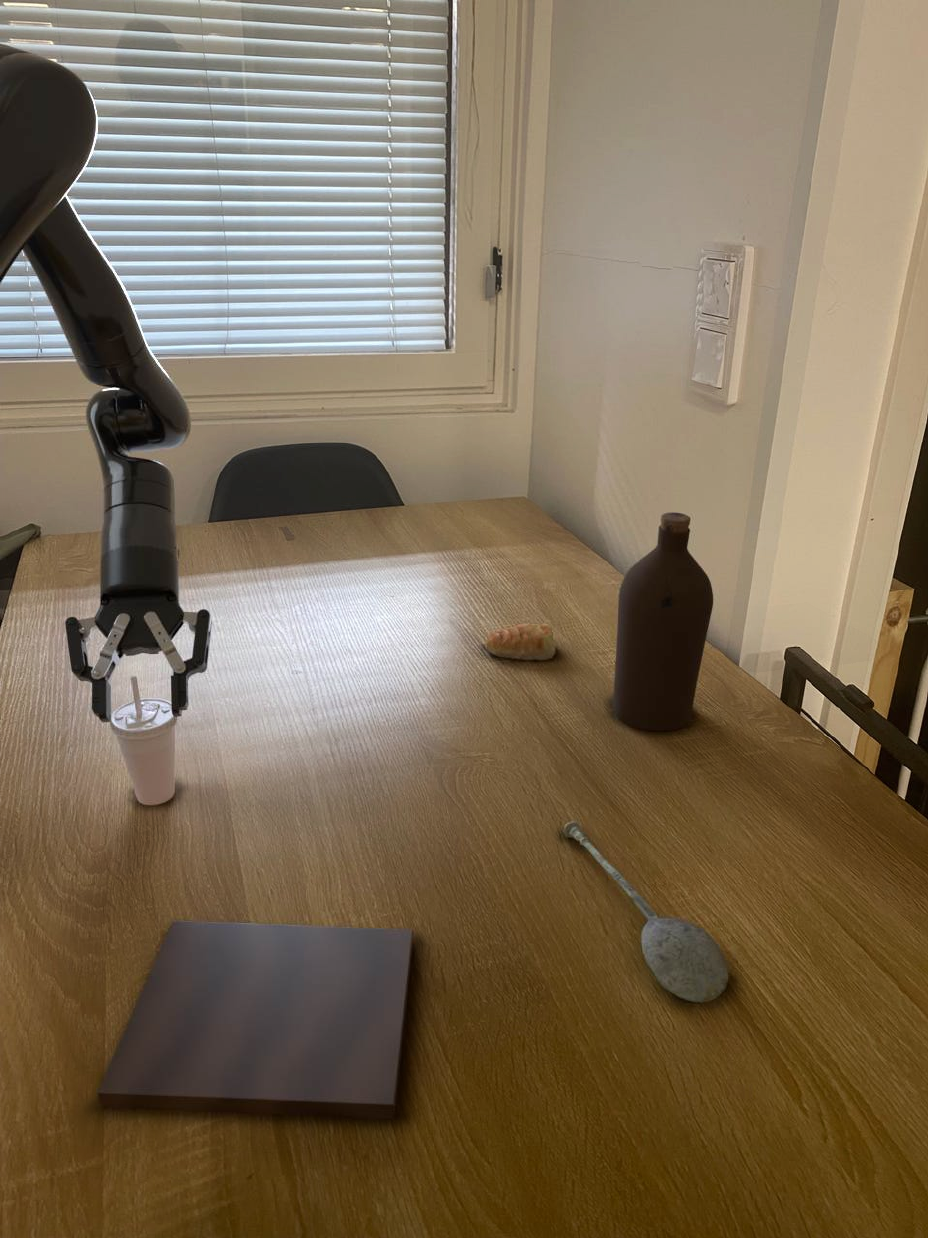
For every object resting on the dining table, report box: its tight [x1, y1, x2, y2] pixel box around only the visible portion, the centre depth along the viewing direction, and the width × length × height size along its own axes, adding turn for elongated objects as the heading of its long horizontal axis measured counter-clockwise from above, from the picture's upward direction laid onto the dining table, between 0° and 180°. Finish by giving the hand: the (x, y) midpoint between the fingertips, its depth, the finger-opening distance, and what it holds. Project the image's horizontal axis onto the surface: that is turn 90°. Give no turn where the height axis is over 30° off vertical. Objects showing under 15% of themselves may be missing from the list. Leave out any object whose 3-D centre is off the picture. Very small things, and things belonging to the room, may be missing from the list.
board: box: [97, 920, 414, 1120], centre depth 68 cm, size 20×16×2 cm
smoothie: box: [109, 676, 179, 806], centre depth 91 cm, size 6×6×14 cm
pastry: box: [484, 622, 556, 661], centre depth 124 cm, size 9×7×4 cm
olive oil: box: [612, 511, 714, 733], centre depth 105 cm, size 11×11×25 cm
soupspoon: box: [562, 820, 729, 1004], centre depth 79 cm, size 22×3×7 cm
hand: (141, 717), depth 88 cm, fingers closed on smoothie, 6 cm apart
